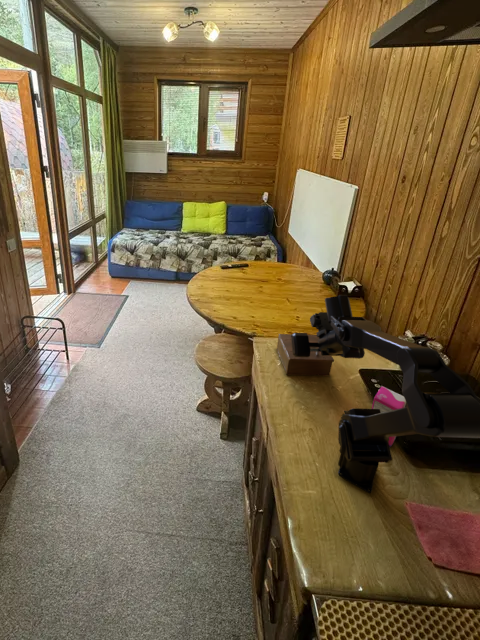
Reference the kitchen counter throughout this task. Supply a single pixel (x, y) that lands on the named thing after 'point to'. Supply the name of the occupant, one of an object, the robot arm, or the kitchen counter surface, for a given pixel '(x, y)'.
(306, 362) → the chest
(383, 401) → the supplement box
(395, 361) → the robot arm
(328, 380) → the kitchen counter surface
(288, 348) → the lid
